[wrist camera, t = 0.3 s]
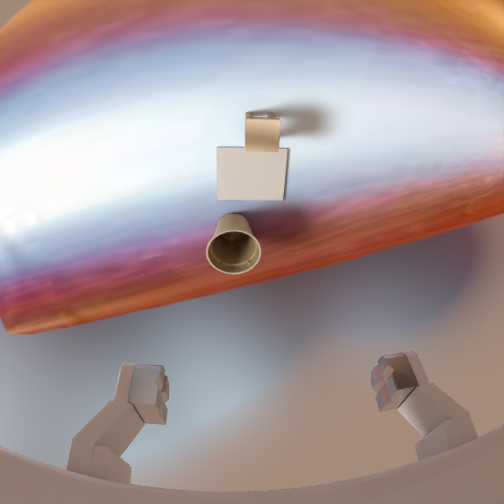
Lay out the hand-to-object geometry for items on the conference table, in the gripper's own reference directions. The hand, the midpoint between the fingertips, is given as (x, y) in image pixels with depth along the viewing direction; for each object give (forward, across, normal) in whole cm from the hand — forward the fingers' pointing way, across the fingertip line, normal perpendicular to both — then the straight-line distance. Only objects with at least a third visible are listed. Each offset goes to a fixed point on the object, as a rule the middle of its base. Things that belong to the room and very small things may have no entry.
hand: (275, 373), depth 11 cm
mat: (+46, -2, +11) cm, 47 cm away
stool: (+46, -3, +2) cm, 46 cm away
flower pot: (+46, +1, +22) cm, 51 cm away
